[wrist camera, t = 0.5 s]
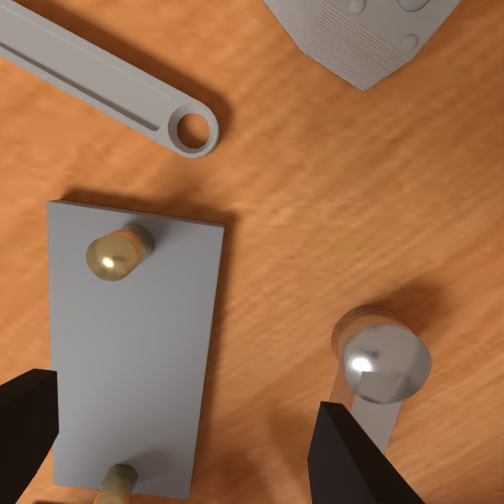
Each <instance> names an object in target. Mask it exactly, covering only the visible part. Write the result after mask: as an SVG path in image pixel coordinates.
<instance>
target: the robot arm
mask: <svg viewBox="0 0 504 504" xmlns="http://www.w3.org/2000/svg"><path fill="white" fill-rule="evenodd" d="M58 434H59V409H58V380H57V371H52V370H43V369H32V370H30V371H28V372H26V373H24V374H22V375H20V376H18V377H16V378H14V379H12V380H10V381H8V382H6V383H4V384H2V385H0V504H15V503H16V502H17V500H18V499H19V498H20V496H21V495H22V493H23V492H24V491H25V489H26V488H27V486H28V485H29V483H30V482H31V480H32V479H33V478H34V476H35V475H36V473H37V471H38V470H39V468H40V466H41V464H42V463H43V461H44V459H45V458H46V456H47V454H48V452H49V450H50V449H51V447H52V445H53V443H54V441H55V440H56V438H57V436H58ZM307 460H308V470H309V479H310V488H311V496H312V504H425V503H424V502H423V501H422V500H421V498H420V497H419V496H418V495H417V494H416V493H415V492H414V490H413V489H412V488H411V487H410V486H409V485H408V483H407V482H406V481H405V480H404V479H403V478H402V476H401V475H400V474H399V473H398V472H397V470H396V469H395V468H394V467H393V466H392V464H391V463H390V462H389V461H388V460H387V458H386V457H385V456H384V455H383V454H382V452H381V451H380V450H379V449H378V447H377V446H376V445H375V444H374V442H373V441H372V440H371V439H370V437H369V436H368V435H367V434H366V432H365V431H364V430H363V429H362V427H361V426H360V425H359V423H358V422H357V421H356V420H355V418H354V417H353V416H352V415H351V413H350V412H349V411H348V410H347V408H346V407H345V406H344V405H343V404H342V403H333V402H324V401H321V403H320V408H319V412H318V416H317V420H316V425H315V429H314V433H313V437H312V441H311V446H310V450H309V454H308V458H307Z"/></svg>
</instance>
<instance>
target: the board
mask: <svg viewBox="0 0 504 504" xmlns="http://www.w3.org/2000/svg"><path fill="white" fill-rule="evenodd" d="M47 224H48V264H49V304H50V345H51V370H52V371H57V380H58V409H59V434H58V436H57V438H56V440H55V441H54V443H53V466H54V485H60V486H69V487H78V488H87V489H96V490H99V489H100V487H101V485H102V483H103V480H104V478H105V476H106V474H107V472H108V470H109V468H110V467H112V466H113V465H116V464H127V465H129V466H131V467H133V468H134V469H135V470H136V472H137V474H138V479H137V482H136V485H135V487H134V490H133V493H132V494H140V495H149V496H158V497H167V498H176V499H185V500H188V499H189V494H190V489H191V482H192V475H193V467H194V460H195V452H196V444H197V437H198V429H199V422H200V414H201V406H202V399H203V391H204V384H205V376H206V368H207V361H208V353H209V346H210V338H211V331H212V323H213V315H214V308H215V300H216V293H217V285H218V277H219V270H220V262H221V255H222V247H223V239H224V232H225V224H219V223H213V222H206V221H199V220H193V219H186V218H179V217H173V216H166V215H159V214H153V213H146V212H139V211H133V210H126V209H119V208H113V207H106V206H99V205H93V204H86V203H79V202H73V201H66V200H59V199H58V200H52V201H47ZM130 224H137V225H140V226H142V227H144V228H146V229H147V230H148V231H149V232H150V233H151V235H152V237H153V240H154V249H153V252H152V254H151V255H150V256H149V257H148V258H147V259H146V260H145V261H143V262H142V263H141V264H140V265H139V266H138V267H137V268H135V269H134V270H133V271H132V272H131V273H130V274H129V275H127V276H126V277H125V278H123V279H122V280H119V281H105V280H102V279H100V278H99V277H97V276H96V275H94V274H93V273H92V271H91V270H90V269H89V267H88V265H87V261H86V252H87V249H88V247H89V245H90V244H91V243H92V242H93V241H94V240H96V239H98V238H100V237H102V236H104V235H107V234H109V233H111V232H113V231H115V230H117V229H120V228H122V227H124V226H126V225H130Z"/></svg>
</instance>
